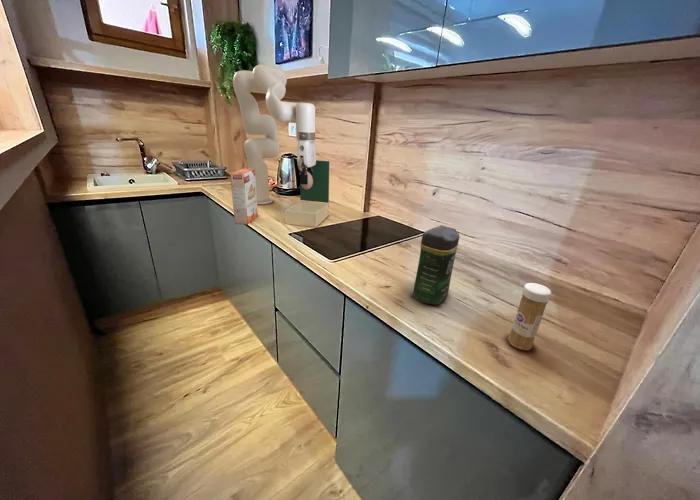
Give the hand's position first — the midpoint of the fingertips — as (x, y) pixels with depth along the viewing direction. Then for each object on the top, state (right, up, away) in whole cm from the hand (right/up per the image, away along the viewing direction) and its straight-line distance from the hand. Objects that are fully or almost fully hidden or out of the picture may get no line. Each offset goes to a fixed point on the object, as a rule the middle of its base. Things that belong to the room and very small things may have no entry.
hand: (306, 182), depth 128 cm
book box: (0, -15, +7) cm, 17 cm away
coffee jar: (+39, -41, -49) cm, 75 cm away
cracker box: (-26, -16, +3) cm, 31 cm away
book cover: (+2, +3, +9) cm, 10 cm away
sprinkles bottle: (+54, -48, -65) cm, 97 cm away
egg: (0, -3, +1) cm, 3 cm away
